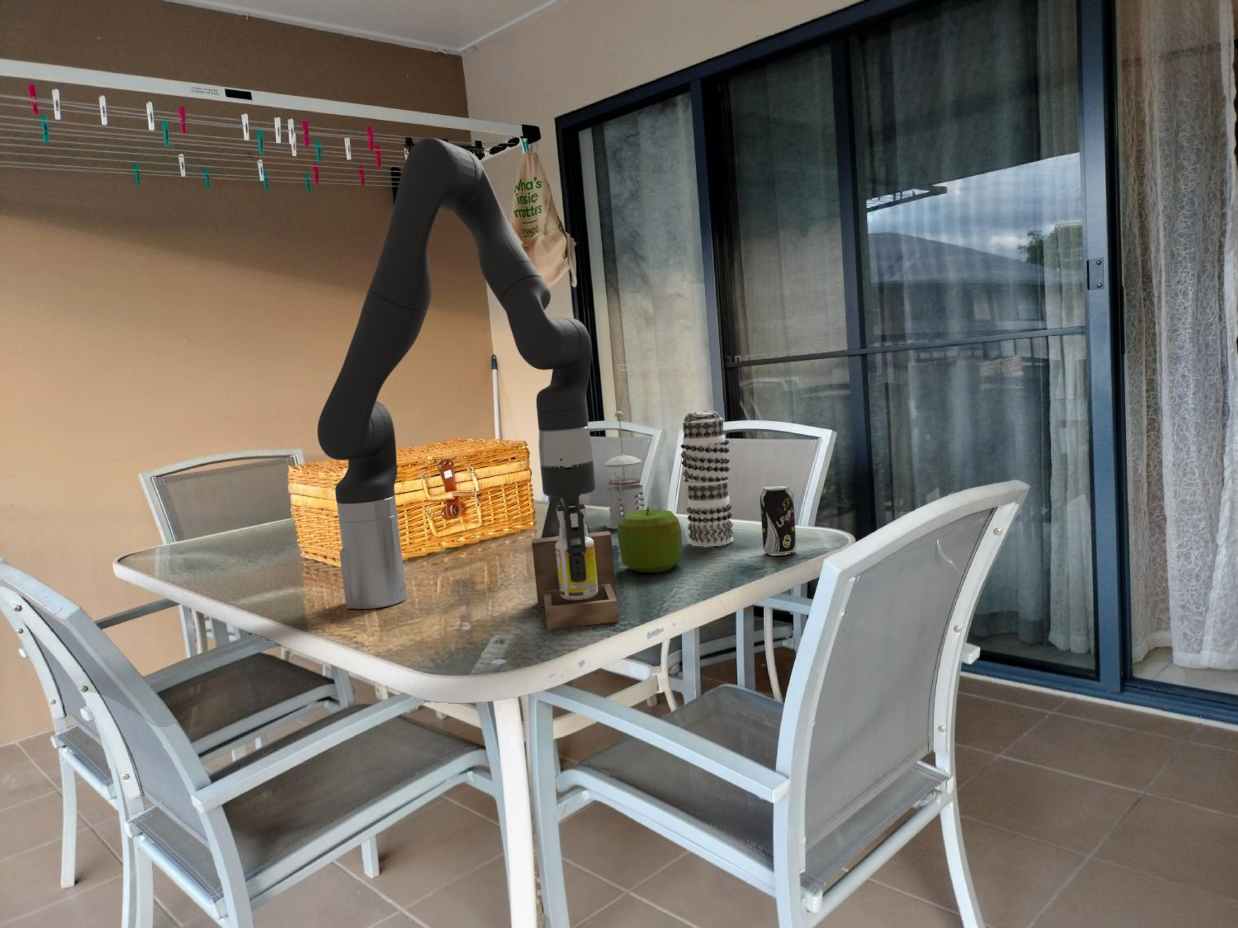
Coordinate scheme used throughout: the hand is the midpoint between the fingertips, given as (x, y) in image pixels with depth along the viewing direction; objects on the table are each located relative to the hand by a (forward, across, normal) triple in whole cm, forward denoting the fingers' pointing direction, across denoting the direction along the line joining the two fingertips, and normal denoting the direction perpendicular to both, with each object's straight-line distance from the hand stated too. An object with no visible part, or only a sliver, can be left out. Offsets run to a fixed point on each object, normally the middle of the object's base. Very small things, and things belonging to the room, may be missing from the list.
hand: (577, 575), depth 130 cm
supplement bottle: (+3, 0, 0) cm, 3 cm away
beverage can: (+6, -24, +37) cm, 45 cm away
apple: (+6, -23, +14) cm, 28 cm away
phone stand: (+6, -57, +1) cm, 58 cm away
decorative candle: (+6, -39, +28) cm, 49 cm away
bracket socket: (+6, -2, 0) cm, 6 cm away
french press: (+6, -66, +15) cm, 68 cm away
